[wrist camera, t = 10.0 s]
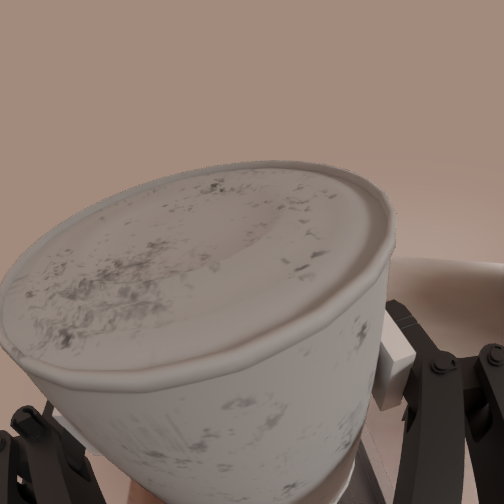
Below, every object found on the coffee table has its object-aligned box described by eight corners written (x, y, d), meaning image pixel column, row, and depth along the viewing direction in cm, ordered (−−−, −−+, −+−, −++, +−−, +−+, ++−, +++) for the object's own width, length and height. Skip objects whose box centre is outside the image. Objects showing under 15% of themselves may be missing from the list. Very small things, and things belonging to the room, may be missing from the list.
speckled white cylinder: (139, 431, 15) (18, 235, 9) (277, 357, 19) (242, 152, 13) (223, 574, 7) (-37, 481, 1) (395, 455, 11) (474, 199, 5)
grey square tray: (347, 403, 25) (349, 384, 23) (402, 547, 11) (414, 542, 10) (183, 436, 24) (171, 420, 23) (191, 587, 11) (175, 587, 10)
